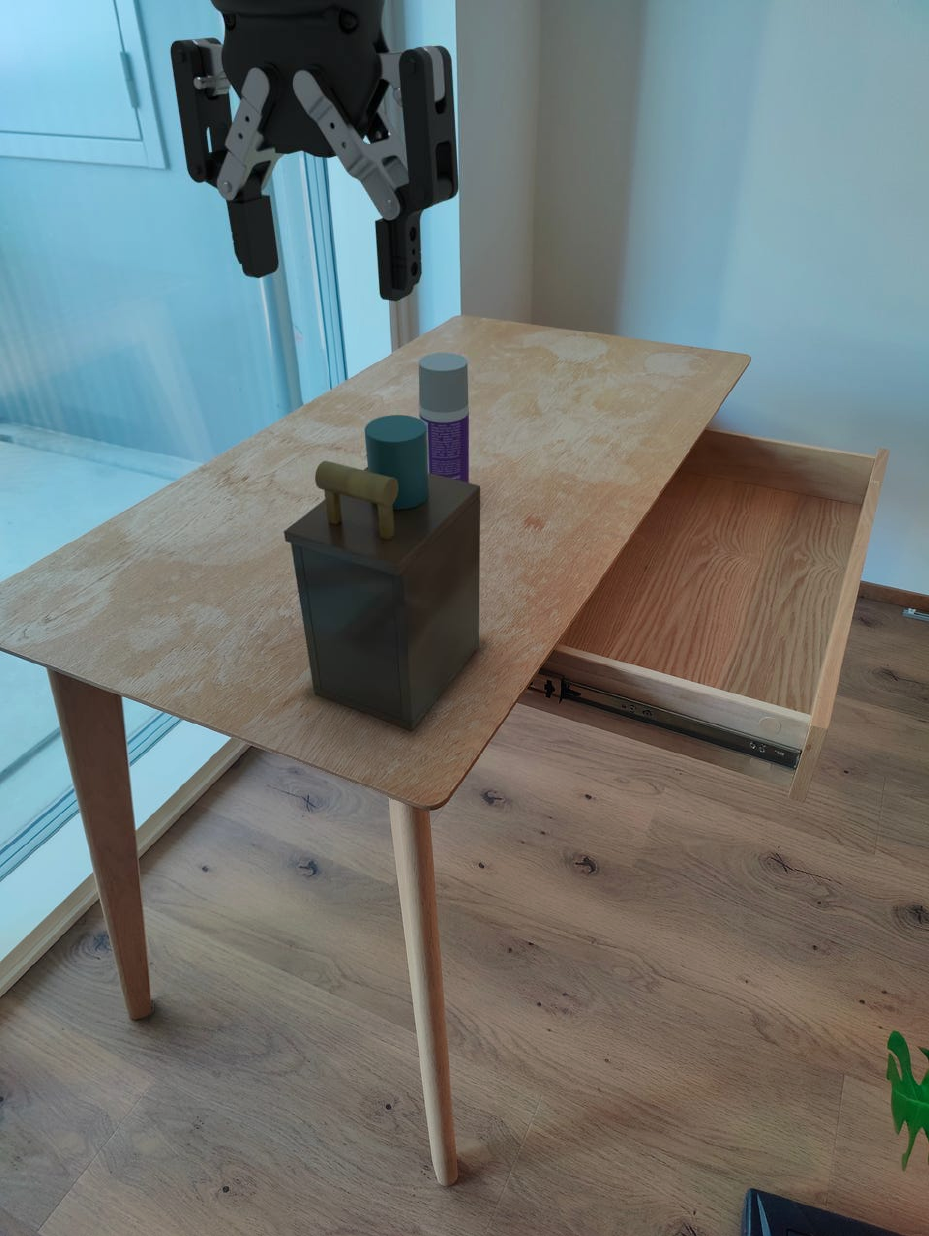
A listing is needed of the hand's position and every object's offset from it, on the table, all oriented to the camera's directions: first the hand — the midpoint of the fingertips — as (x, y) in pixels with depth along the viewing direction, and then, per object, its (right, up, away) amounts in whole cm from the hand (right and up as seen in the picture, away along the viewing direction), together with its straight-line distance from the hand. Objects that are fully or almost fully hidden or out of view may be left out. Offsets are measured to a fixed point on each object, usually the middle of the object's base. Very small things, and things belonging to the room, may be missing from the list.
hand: (327, 285), depth 43 cm
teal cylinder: (+3, -9, +14) cm, 17 cm away
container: (+5, -6, +42) cm, 42 cm away
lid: (+2, -11, +13) cm, 17 cm away
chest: (+2, -21, +22) cm, 30 cm away
